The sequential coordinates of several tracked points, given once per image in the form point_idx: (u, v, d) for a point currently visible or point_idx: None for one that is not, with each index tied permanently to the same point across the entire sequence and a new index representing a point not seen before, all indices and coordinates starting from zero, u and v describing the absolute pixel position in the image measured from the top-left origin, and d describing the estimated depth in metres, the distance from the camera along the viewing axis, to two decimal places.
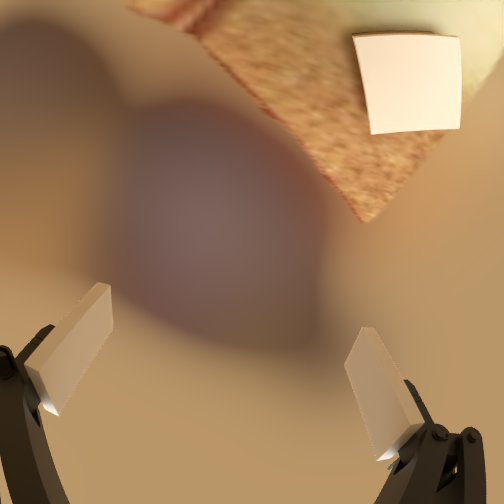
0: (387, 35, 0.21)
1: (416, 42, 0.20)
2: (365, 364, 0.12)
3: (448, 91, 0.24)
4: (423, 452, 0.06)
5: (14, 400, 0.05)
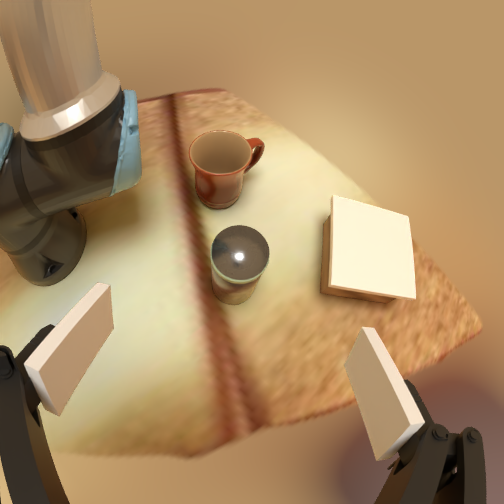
0: (332, 255, 0.36)
1: (339, 233, 0.38)
2: (365, 364, 0.12)
3: (380, 219, 0.40)
4: (423, 452, 0.06)
5: (14, 400, 0.05)
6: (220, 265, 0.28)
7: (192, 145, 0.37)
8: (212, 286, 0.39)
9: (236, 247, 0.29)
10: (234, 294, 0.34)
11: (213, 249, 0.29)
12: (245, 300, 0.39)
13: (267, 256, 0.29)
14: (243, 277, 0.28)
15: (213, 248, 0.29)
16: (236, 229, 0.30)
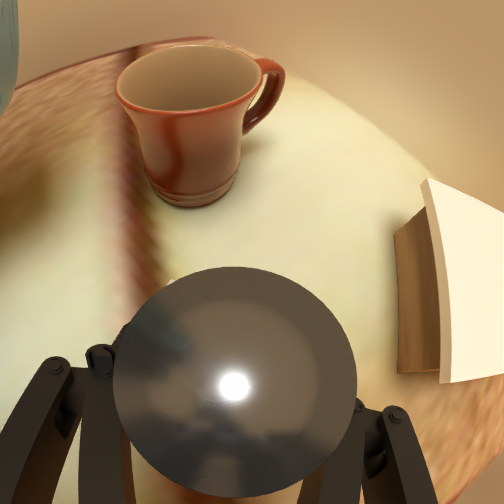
0: (449, 312, 0.13)
1: (454, 258, 0.14)
2: None
3: (495, 226, 0.17)
4: None
5: (110, 402, 0.07)
6: (153, 450, 0.05)
7: (128, 68, 0.13)
8: None
9: (219, 373, 0.06)
10: None
11: (120, 380, 0.06)
12: None
13: (350, 397, 0.06)
14: (254, 493, 0.05)
15: (119, 375, 0.06)
16: (217, 286, 0.07)
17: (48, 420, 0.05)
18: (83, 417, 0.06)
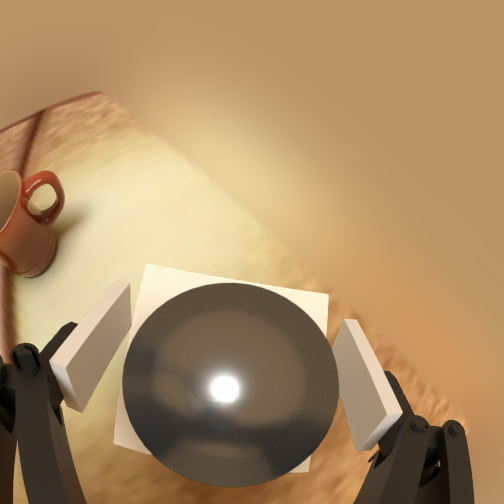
0: (120, 392, 0.16)
1: None
2: (346, 355, 0.13)
3: None
4: (402, 445, 0.07)
5: (38, 398, 0.06)
6: (158, 444, 0.06)
7: None
8: None
9: (215, 376, 0.07)
10: None
11: (128, 383, 0.06)
12: None
13: (333, 399, 0.07)
14: (246, 483, 0.06)
15: (128, 379, 0.06)
16: (214, 300, 0.08)
17: None
18: (17, 417, 0.05)
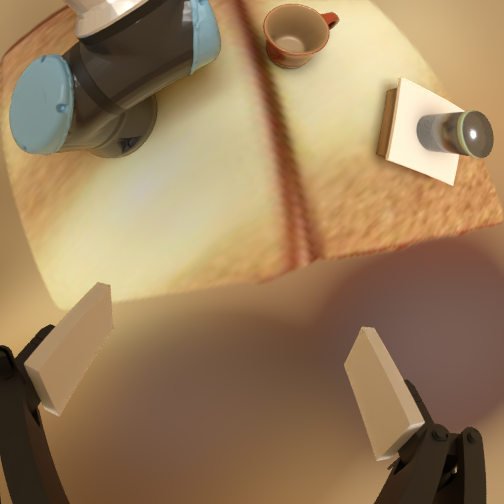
0: (392, 134, 0.35)
1: (402, 115, 0.34)
2: (365, 364, 0.12)
3: (439, 108, 0.33)
4: (423, 452, 0.06)
5: (14, 400, 0.05)
6: (469, 143, 0.24)
7: (266, 20, 0.27)
8: (420, 134, 0.34)
9: (478, 130, 0.23)
10: None
11: (465, 128, 0.23)
12: None
13: (492, 143, 0.23)
14: (480, 156, 0.24)
15: (465, 127, 0.23)
16: (477, 114, 0.22)
17: None
18: None
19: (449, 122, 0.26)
